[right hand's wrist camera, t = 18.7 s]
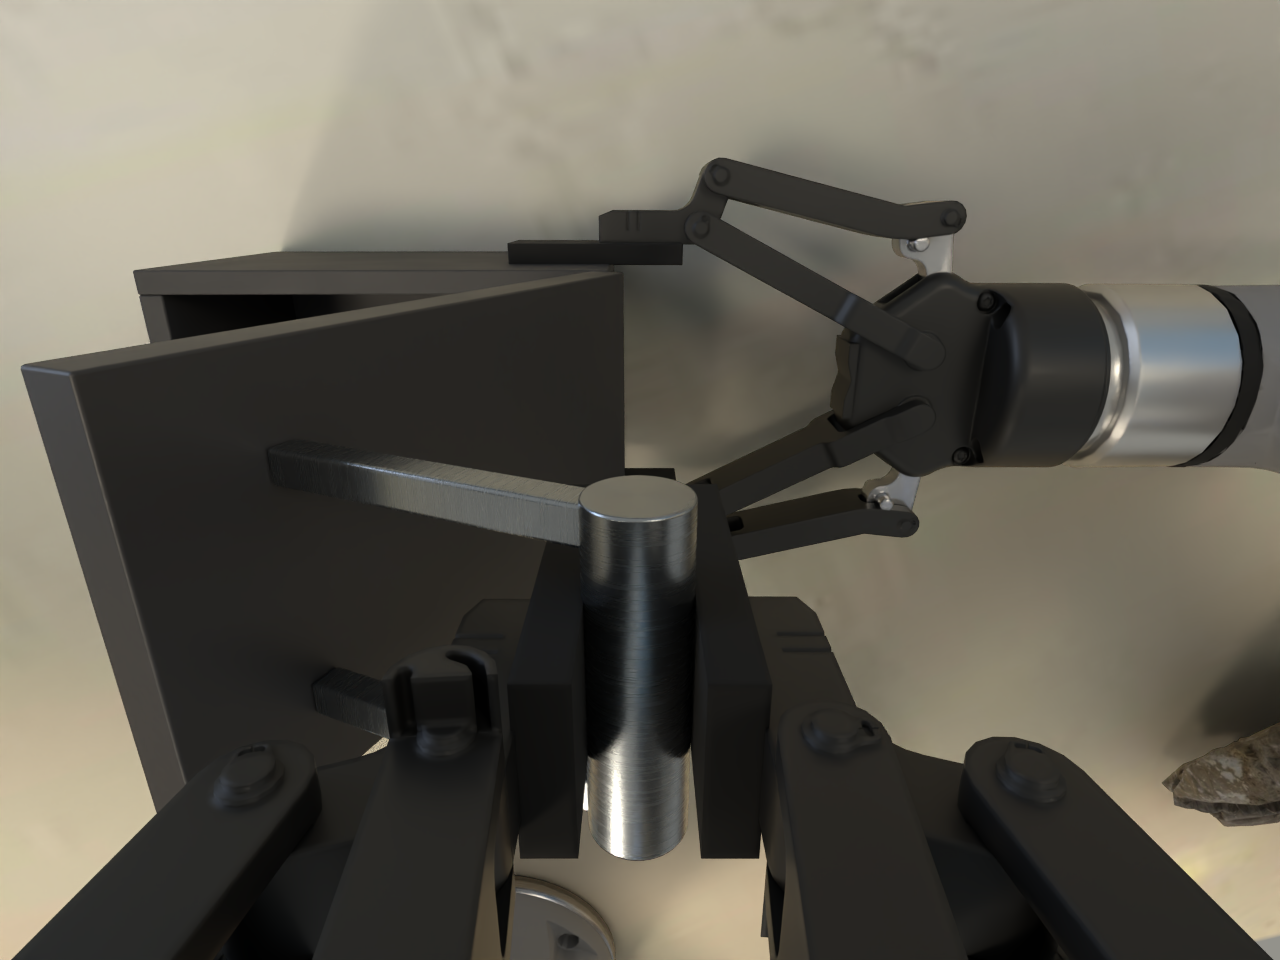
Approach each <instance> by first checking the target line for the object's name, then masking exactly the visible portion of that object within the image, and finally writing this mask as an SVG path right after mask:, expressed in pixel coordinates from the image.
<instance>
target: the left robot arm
mask: <svg viewBox="0 0 1280 960" xmlns="http://www.w3.org/2000/svg"><path fill="white" fill-rule="evenodd" d="M728 199H731V200H735V201H739V202H742V203H746V204H750V205H754V206H758V207H761V208H765V209H769V210H773V211H777V212H780V213H784V214H788V215H792V216H796V217H800V218H803V219H807V220H811V221H815V222H819V223H822V224H826V225H830V226H834V227H838V228H841V229H845V230H849V231H853V232H857V233H861V234H865V235H870V236H876V237H884V238H892V248H893V251H894V252H895V253H896V255H898V256H900V257H904V258H909V259H911V260H913V261H914V262H915V263H916V265H917V267H918V274H916V275H915V276H913V277H912V278H910V279H909V280H907V281H906V282H905V283H903V284H902V285H900V286H899V287H897V288H896V289H894V290H893V291H891V292H890V293H888V294H887V295H885V296H884V297H882V298H881V299H880V300H878V301H877V302H875V303H874V304H872V303H870V302H868V301H866V300H864V299H863V298H861V297H859V296H857V295H855V294H853V293H851V292H849V291H847V290H846V289H844V288H842V287H840V286H839V285H837V284H835V283H833V282H831V281H830V280H828V279H826V278H824V277H822V276H821V275H819V274H817V273H815V272H814V271H812V270H810V269H808V268H806V267H805V266H803V265H801V264H799V263H797V262H796V261H794V260H792V259H790V258H789V257H787V256H785V255H783V254H781V253H780V252H778V251H776V250H774V249H772V248H771V247H769V246H767V245H765V244H764V243H762V242H760V241H758V240H756V239H755V238H753V237H751V236H749V235H747V234H746V233H744V232H742V231H740V230H739V229H737V228H735V227H733V226H731V225H730V224H728V223H726V222H724V221H722V220H721V219H720V218H721V216H722V213H723V211H724V208H725V205H726V203H727V200H728ZM966 217H967V215H966V209H965V208H964V206H963V205H962V204H961V203H959V202H958V201H923V202H914V203H906V204H895V203H892V202H888V201H884V200H880V199H877V198H873V197H869V196H865V195H862V194H858V193H854V192H850V191H847V190H843V189H839V188H835V187H832V186H828V185H824V184H821V183H817V182H813V181H809V180H806V179H802V178H798V177H794V176H791V175H787V174H783V173H779V172H776V171H772V170H768V169H764V168H761V167H757V166H753V165H749V164H746V163H742V162H738V161H735V160H731V159H727V158H717V159H714V160H712V161H710V162H709V163H707V164H706V165H705V166H704V167H703V168H702V170H701V172H700V174H699V179H698V181H697V184H696V187H695V190H694V192H693V195H692V197H691V199H690V201H689V202H688V203H687V205H685V206H684V207H683V208H681V209H678V210H612V211H610V212H607V213H605V214H603V215H600V216H599V240H518V241H514V242H511V243H508V260H509V264H609V265H682V256H683V244H695V245H697V246H699V247H701V248H703V249H704V250H706V251H708V252H710V253H712V254H713V255H715V256H717V257H719V258H721V259H723V260H724V261H726V262H728V263H730V264H732V265H733V266H735V267H737V268H739V269H741V270H743V271H744V272H746V273H748V274H750V275H752V276H753V277H755V278H757V279H759V280H761V281H763V282H764V283H766V284H768V285H770V286H772V287H773V288H775V289H777V290H779V291H781V292H783V293H784V294H786V295H788V296H790V297H792V298H793V299H795V300H797V301H799V302H801V303H803V304H804V305H806V306H808V307H810V308H812V309H813V310H815V311H817V312H819V313H821V314H823V315H824V316H826V317H828V318H830V319H832V320H833V321H835V322H837V323H839V324H841V325H842V326H844V327H845V328H844V330H843V332H842V334H841V335H837V340H836V350H835V355H836V361H837V366H838V374H837V376H836V379H835V382H834V385H833V387H832V391H831V401H830V407H831V408H832V409H833V410H832V411H830V412H827V413H825V414H823V415H821V416H819V417H817V418H815V419H814V420H812V421H811V422H810V424H809V425H808V426H807V427H805V428H803V429H801V430H799V431H797V432H794V433H792V434H790V435H788V436H786V437H784V438H782V439H780V440H778V441H775V442H773V443H771V444H769V445H767V446H765V447H763V448H761V449H758V450H756V451H754V452H752V453H750V454H748V455H746V456H744V457H742V458H739V459H737V460H735V461H733V462H731V463H729V464H727V465H725V466H723V467H720V468H718V469H716V470H714V471H712V472H710V473H708V474H706V475H704V476H701V477H699V478H697V479H695V480H693V481H691V482H689V483H687V484H717V486H718V489H719V493H720V496H721V500H722V504H723V507H724V511H725V515H726V518H727V522H728V525H729V529H730V533H731V536H732V540H733V543H734V547H735V551H736V554H737V558H738V560H742V559H747V558H751V557H756V556H761V555H766V554H770V553H775V552H780V551H784V550H789V549H794V548H799V547H803V546H808V545H813V544H817V543H822V542H827V541H832V540H836V539H841V538H846V537H850V536H855V535H860V534H873V535H882V536H892V537H901V538H903V537H909V536H911V535H913V534H914V533H915V532H916V531H917V529H918V527H919V520H918V517H917V516H916V515H915V514H914V513H913V512H912V508H913V504H914V500H915V497H916V493H917V489H918V486H919V482H920V478H921V477H922V476H926V475H928V474H931V473H932V472H934V471H937V470H939V469H942V468H945V467H949V466H966V467H1052V466H1057V465H1059V464H1064V465H1066V466H1071V467H1076V468H1084V467H1151V466H1167V467H1186V466H1192V467H1250V468H1257V469H1264V470H1269V471H1273V472H1277V473H1280V285H1237V286H1209V285H1188V284H1085V285H1082V286H1080V287H1075V286H1073V285H1070V284H1064V283H970V282H967V281H965V280H964V279H962V278H961V277H959V276H957V275H956V274H953V273H952V260H953V235H954V233H957V232H958V231H959V230H960V229H962V227H963V225H964V224H965V221H966ZM873 453H874V454H875V455H877V456H878V457H879V458H881V459H882V460H883V461H885V462H886V463H887V464H889V465H890V466H891V467H892V468H891V470H890V472H889V473H888V474H887V475H886V476H884V477H882V478H878V479H872V480H871V479H870V480H867V481H866V482H865V484H864V486H863V488H862V489H860V488H851V489H841V490H835V491H830V492H826V493H821V494H816V495H812V496H807V497H803V498H798V499H793V500H789V501H784V502H780V503H775V504H770V505H766V506H761V507H757V508H752V509H747V510H743V511H738V510H740V509H742V508H744V507H746V506H748V505H751V504H753V503H755V502H757V501H759V500H761V499H764V498H766V497H768V496H770V495H772V494H774V493H777V492H779V491H781V490H783V489H785V488H787V487H790V486H792V485H794V484H796V483H798V482H800V481H803V480H805V479H807V478H809V477H811V476H813V475H816V474H818V473H820V472H822V471H824V470H826V469H829V468H832V467H836V468H840V467H844V466H847V465H849V464H852V463H854V462H856V461H858V460H860V459H862V458H865V457H867V456H869V455H871V454H873ZM632 475H643V476H656V477H662V478H668V479H672V480H675V481H676V477H675V470H674V468H625V476H632ZM735 511H738V512H735ZM733 512H734V513H733ZM514 879H515V891H516V895H515V906H514V918H513V929H512V941H511V952H510V960H615V945H614V941H613V938H612V935H611V932H610V930H609V928H608V927H607V925H606V923H605V922H604V920H603V919H602V917H601V916H600V915H599V914H598V913H597V912H596V911H595V910H594V909H593V908H592V907H591V906H590V905H589V904H588V903H586V902H585V901H584V900H582V899H581V898H579V897H578V896H576V895H575V894H573V893H571V892H569V891H567V890H566V889H564V888H561V887H559V886H556V885H554V884H551V883H548V882H545V881H541V880H537V879H534V878H528V877H522V876H514Z"/></svg>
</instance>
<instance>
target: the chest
mask: <svg viewBox="0 0 1280 960" xmlns="http://www.w3.org/2000/svg"><path fill="white" fill-rule="evenodd" d="M591 271H601V272H614V265H609V264H509V260H508V252H271V253H263V254H256V255H248V256H240V257H233V258H225V259H217V260H210V261H202V262H194V263H187V264H179V265H171V266H164V267H156V268H148V269H141V270H134V271H133V274H134V278H135V282H136V286H137V290H138V294H140V302H141V306H142V310H143V314H144V318H145V323H146V327H147V331H148V335H149V339H150V343H157V342H163V341H169V340H175V339H181V338H187V337H194V336H200V335H206V334H212V333H218V332H224V331H230V330H236V329H242V328H249V327H255V326H261V325H267V324H273V323H279V322H285V321H291V320H297V319H304V318H310V317H316V316H322V315H328V314H334V313H340V312H346V311H352V310H359V309H365V308H371V307H377V306H383V305H389V304H395V303H401V302H407V301H414V300H420V299H426V298H432V297H438V296H444V295H450V294H456V293H462V292H469V291H475V290H481V289H487V288H493V287H499V286H505V285H511V284H518V283H524V282H530V281H536V280H542V279H548V278H554V277H560V276H566V275H573V274H579V273H585V272H591Z"/></svg>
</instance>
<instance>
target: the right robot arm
mask: <svg viewBox="0 0 1280 960" xmlns="http://www.w3.org/2000/svg"><path fill="white" fill-rule="evenodd" d="M566 485H572V486H577V487H583V488H586V487H587V486H589V485H591V484H566ZM685 485H687V486H689V487H690V488H692V489H693V490H694V492H695V493H696V495H697V498H698V514H697V546H696V577H695V609H694V641H693V673H692V705H691V737H690V744H691V754H692V765H693V776H694V786H695V797H696V808H697V818H698V829H699V840H700V851H701V859H759V853H760V840H761V833H762V838H763V843H764V848H765V853H766V859H767V867H766V879H765V891H764V903H763V915H762V927H761V937H768V940H769V951H770V960H1273V959H1272V958H1271V957H1270V956H1269V955H1268V954H1267V953H1266V952H1265V951H1264V950H1263V949H1262V948H1261V947H1260V946H1259V945H1258V944H1257V943H1256V942H1255V941H1254V940H1253V939H1252V938H1251V937H1250V936H1249V935H1248V934H1247V933H1246V932H1245V931H1244V930H1243V929H1242V928H1241V927H1240V926H1239V925H1238V924H1237V923H1236V922H1235V921H1234V920H1233V919H1232V918H1231V917H1230V916H1229V915H1228V914H1227V913H1226V912H1225V911H1224V910H1223V909H1222V908H1221V907H1220V906H1219V905H1218V904H1217V903H1216V902H1215V901H1214V900H1213V899H1212V898H1211V897H1210V896H1209V895H1208V894H1207V893H1206V892H1205V891H1204V890H1203V889H1202V888H1201V887H1200V886H1199V885H1198V884H1197V883H1196V882H1195V881H1194V880H1193V879H1192V878H1191V877H1190V876H1189V875H1188V874H1187V873H1186V872H1185V871H1184V870H1183V869H1182V868H1181V867H1180V866H1179V865H1178V864H1177V863H1176V862H1175V861H1174V860H1173V859H1172V858H1171V857H1170V856H1169V855H1168V854H1167V853H1166V852H1165V851H1164V850H1163V849H1162V848H1161V847H1160V846H1159V845H1158V844H1157V843H1156V842H1155V841H1154V840H1153V839H1152V838H1151V837H1150V836H1149V835H1148V834H1147V833H1146V832H1145V831H1144V830H1143V829H1142V828H1140V827H1139V826H1138V825H1137V824H1136V823H1135V822H1134V821H1133V820H1132V819H1131V818H1130V817H1129V816H1128V815H1127V814H1126V813H1125V812H1124V811H1123V810H1122V809H1121V808H1120V807H1119V806H1118V805H1117V804H1116V803H1115V802H1114V801H1113V800H1112V799H1111V798H1110V797H1109V796H1108V795H1107V794H1106V793H1105V792H1104V791H1103V790H1102V789H1101V788H1100V787H1099V786H1098V785H1097V784H1096V783H1095V782H1094V781H1093V780H1092V779H1091V778H1090V777H1089V776H1088V775H1087V774H1086V773H1085V772H1084V771H1083V770H1082V769H1081V768H1079V767H1078V766H1077V765H1076V764H1074V763H1073V762H1072V761H1070V760H1069V759H1068V758H1066V757H1065V756H1064V755H1062V754H1060V753H1058V752H1056V751H1054V750H1052V749H1050V748H1048V747H1045V746H1043V745H1041V744H1039V743H1035V742H1031V741H1027V740H1023V739H1020V738H1016V737H990V738H987V739H984V740H981V741H977V742H975V743H974V744H973V745H972V747H971V748H970V749H969V750H968V751H967V752H966V755H965V760H964V764H961V763H957V762H952V761H948V760H943V759H939V758H935V757H930V756H926V755H922V754H919V753H915V752H912V751H909V750H906V749H904V748H901V747H899V746H897V745H895V744H893V743H892V740H891V738H890V736H889V734H888V733H887V731H886V730H885V728H884V727H883V725H882V723H881V722H879V721H878V720H877V719H876V718H874V717H873V716H872V715H870V714H869V713H868V712H866V711H865V710H862V709H860V708H858V707H856V704H855V702H854V700H853V697H852V695H851V693H850V690H849V688H848V686H847V684H846V681H845V679H844V677H843V674H842V672H841V670H840V667H839V665H838V663H837V660H836V658H835V656H834V653H833V652H831V647H830V644H829V642H828V640H827V637H826V636H824V630H823V628H822V626H821V623H820V621H819V619H818V617H817V614H816V613H815V612H814V611H813V610H812V609H811V608H809V607H808V606H807V605H806V604H805V603H803V602H802V601H801V600H800V599H799V598H797V597H748V594H747V590H746V587H745V583H744V579H743V576H742V572H741V569H740V565H739V561H738V558H737V554H736V551H735V547H734V543H733V540H732V536H731V533H730V529H729V525H728V522H727V518H726V515H725V511H724V507H723V504H722V500H721V496H720V493H719V489H718V486H717V484H685ZM381 684H382V690H383V697H384V703H385V710H386V717H387V723H388V730H389V736H390V739H389V742H388V744H387V746H386V747H384V748H382V749H380V750H378V751H376V752H374V753H370V754H367V755H364V756H360V757H357V758H353V759H349V760H345V761H340V762H336V763H331V764H327V765H323V766H318V767H316V763H315V758H314V755H313V754H312V753H311V752H310V751H309V750H308V749H307V748H306V746H305V745H302V744H299V743H296V742H293V741H289V740H264V741H261V742H257V743H253V744H249V745H245V746H241V747H239V748H237V749H235V750H233V751H231V752H229V753H226V754H224V755H222V756H220V757H218V758H216V759H215V760H214V761H212V762H211V763H210V764H209V765H207V766H206V767H205V768H203V769H202V770H201V771H200V772H198V773H197V774H196V775H195V776H194V777H193V778H192V779H191V780H190V781H189V782H188V783H187V784H186V785H185V786H184V787H183V788H182V789H181V790H180V791H179V792H178V793H177V794H176V795H175V796H174V797H173V798H172V799H171V800H170V801H169V802H168V803H167V804H166V805H165V806H164V807H163V808H162V809H161V810H160V811H159V812H158V813H157V814H156V815H155V816H154V817H153V818H152V819H151V820H150V821H149V822H148V823H147V824H146V825H145V826H144V827H143V828H142V829H141V830H140V831H139V832H138V833H137V834H136V835H135V836H134V837H133V838H132V839H131V840H130V841H129V842H128V843H127V844H126V845H125V846H124V847H123V848H122V849H121V850H120V851H119V852H118V853H117V854H116V855H115V856H114V857H113V858H112V859H111V860H110V861H109V862H108V863H107V864H106V865H105V866H104V867H103V868H102V869H101V870H100V871H99V872H98V873H97V874H96V875H95V876H94V877H93V878H92V879H91V880H90V881H89V882H88V883H87V884H86V885H85V886H84V887H83V888H82V889H81V890H80V891H79V892H78V893H77V894H76V895H75V896H74V897H73V898H72V899H71V900H70V901H69V902H68V903H67V904H66V905H65V906H64V907H63V908H62V909H61V910H60V911H59V912H58V913H57V914H56V915H55V916H54V917H53V918H52V919H51V920H50V921H49V922H48V923H47V924H46V925H45V926H44V927H43V928H42V929H41V930H40V931H39V932H38V933H37V935H36V936H35V937H34V938H33V939H32V940H31V941H30V942H29V943H28V944H27V945H26V946H25V947H24V948H23V949H22V950H21V951H20V952H19V953H18V954H17V955H16V956H15V957H14V958H13V959H12V960H510V952H511V941H512V929H513V918H514V906H515V895H516V891H515V879H514V867H513V859H514V854H515V849H516V843H517V838H518V835H519V848H520V859H538V858H578V855H579V844H580V834H581V823H582V812H583V802H584V791H585V780H586V770H587V759H588V744H587V713H586V681H585V650H584V618H583V601H582V598H581V578H580V548H575V547H570V546H565V545H560V544H556V543H551V542H546V545H545V549H544V552H543V556H542V559H541V563H540V567H539V570H538V574H537V577H536V581H535V585H534V588H533V592H532V595H531V599H482V600H481V601H480V602H479V603H478V604H477V605H475V606H474V607H473V608H472V609H471V610H469V611H468V612H467V613H466V614H465V615H464V616H463V618H462V620H461V623H460V625H459V627H458V630H457V632H456V634H455V638H454V639H453V641H452V644H451V645H443V646H436V647H429V648H426V649H423V650H420V651H417V652H415V653H412V654H409V655H407V656H405V657H404V658H402V659H401V660H399V661H398V662H397V663H395V664H394V665H392V666H391V667H390V668H389V669H388V671H387V672H386V674H385V675H384V676H383V678H382V679H381Z"/></svg>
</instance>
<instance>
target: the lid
mask: <svg viewBox="0 0 1280 960" xmlns="http://www.w3.org/2000/svg"><path fill="white" fill-rule="evenodd" d="M21 371H22V375H23V378H24V381H25V385H26V388H27V391H28V394H29V398H30V401H31V404H32V407H33V411H34V414H35V417H36V420H37V424H38V427H39V430H40V434H41V437H42V440H43V443H44V447H45V450H46V453H47V456H48V460H49V463H50V466H51V469H52V473H53V476H54V479H55V482H56V486H57V489H58V492H59V496H60V499H61V502H62V505H63V509H64V512H65V515H66V518H67V522H68V525H69V528H70V531H71V535H72V538H73V541H74V545H75V548H76V551H77V554H78V558H79V561H80V564H81V567H82V571H83V574H84V577H85V580H86V584H87V587H88V590H89V594H90V597H91V600H92V603H93V607H94V610H95V613H96V616H97V620H98V623H99V626H100V629H101V633H102V636H103V639H104V643H105V646H106V649H107V652H108V656H109V659H110V662H111V665H112V669H113V672H114V675H115V678H116V682H117V685H118V688H119V692H120V695H121V698H122V701H123V705H124V708H125V711H126V714H127V718H128V721H129V724H130V727H131V731H132V734H133V737H134V741H135V744H136V747H137V750H138V754H139V757H140V760H141V763H142V767H143V770H144V773H145V776H146V780H147V783H148V786H149V790H150V793H151V796H152V799H153V803H154V806H155V809H156V812H157V813H158V812H159V811H160V810H161V809H162V808H163V807H164V806H165V805H166V804H167V803H168V802H169V801H170V800H171V799H172V798H173V797H174V796H175V795H176V794H177V793H178V792H179V791H180V790H181V789H182V788H183V787H184V786H185V785H186V784H187V783H188V782H189V781H190V780H191V779H192V778H193V777H194V776H195V775H196V774H197V773H198V772H200V771H201V770H202V769H203V768H205V767H206V766H207V765H209V764H210V763H211V762H212V761H214V760H215V759H216V758H218V757H220V756H222V755H224V754H226V753H229V752H231V751H233V750H235V749H237V748H239V747H241V746H245V745H249V744H253V743H257V742H261V741H264V740H289V741H293V742H296V743H299V744H302V745H305V746H306V748H307V749H308V750H309V751H310V752H311V753H312V754H313V755H314V758H315V763H316V767H318V766H323V765H327V764H331V763H336V762H340V761H345V760H349V759H353V758H357V757H360V756H362V755H363V754H364V753H365V752H367V751H368V750H369V749H370V748H371V747H372V746H373V745H375V744H376V743H377V742H378V741H379V740H380V739H381V738H383V737H385V738H387V739H390V736H389V730H388V723H387V717H386V710H385V703H384V697H383V690H382V684H381V679H382V678H383V676H384V675H385V674H386V672H387V671H388V669H389V668H390V667H391V666H392V665H394V664H395V663H397V662H398V661H399V660H401V659H402V658H404V657H405V656H407V655H409V654H412V653H415V652H417V651H420V650H423V649H426V648H429V647H436V646H443V645H451V644H452V641H453V639H454V638H455V634H456V632H457V630H458V627H459V625H460V623H461V620H462V618H463V616H464V615H465V614H466V613H467V612H468V611H469V610H471V609H472V608H473V607H474V606H475V605H477V604H478V603H479V602H480V601H481V600H482V599H531V595H532V592H533V588H534V585H535V581H536V577H537V574H538V570H539V567H540V563H541V559H542V556H543V552H544V549H545V545H546V542H551V543H556V544H560V545H565V546H570V547H575V548H580V578H581V598H582V601H583V618H584V650H585V681H586V713H587V744H588V759H587V770H586V780H585V791H584V802H583V810H584V811H587V812H588V823H589V828H590V832H591V834H592V836H593V838H594V839H595V841H596V842H597V843H598V844H599V846H600V847H601V848H603V849H604V850H605V851H607V852H608V853H610V854H612V855H614V856H616V857H619V858H622V859H626V860H633V861H644V860H650V859H654V858H658V857H660V856H663V855H664V854H666V853H668V852H670V851H671V850H672V849H674V848H675V847H676V846H677V845H678V844H679V842H680V841H681V840H682V838H683V836H684V835H685V832H686V830H687V825H688V801H689V769H690V737H691V705H692V673H693V641H694V609H695V577H696V546H697V514H698V498H697V495H696V493H695V492H694V490H693V489H692V488H690V487H689V486H687V485H685V484H683V483H681V482H678V481H675V480H672V479H668V478H662V477H656V476H643V475H632V476H625V448H624V312H623V273H622V272H601V271H591V272H585V273H579V274H573V275H566V276H560V277H554V278H548V279H542V280H536V281H530V282H524V283H518V284H511V285H505V286H499V287H493V288H487V289H481V290H475V291H469V292H462V293H456V294H450V295H444V296H438V297H432V298H426V299H420V300H414V301H407V302H401V303H395V304H389V305H383V306H377V307H371V308H365V309H359V310H352V311H346V312H340V313H334V314H328V315H322V316H316V317H310V318H304V319H297V320H291V321H285V322H279V323H273V324H267V325H261V326H255V327H249V328H242V329H236V330H230V331H224V332H218V333H212V334H206V335H200V336H194V337H187V338H181V339H175V340H169V341H163V342H157V343H151V344H145V345H139V346H132V347H126V348H120V349H114V350H108V351H102V352H96V353H90V354H83V355H77V356H71V357H65V358H59V359H53V360H47V361H41V362H35V363H28V364H24V365H23V366H21ZM566 484H591V485H589V486H587V487H586V488H583V487H577V486H572V485H566Z"/></svg>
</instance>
